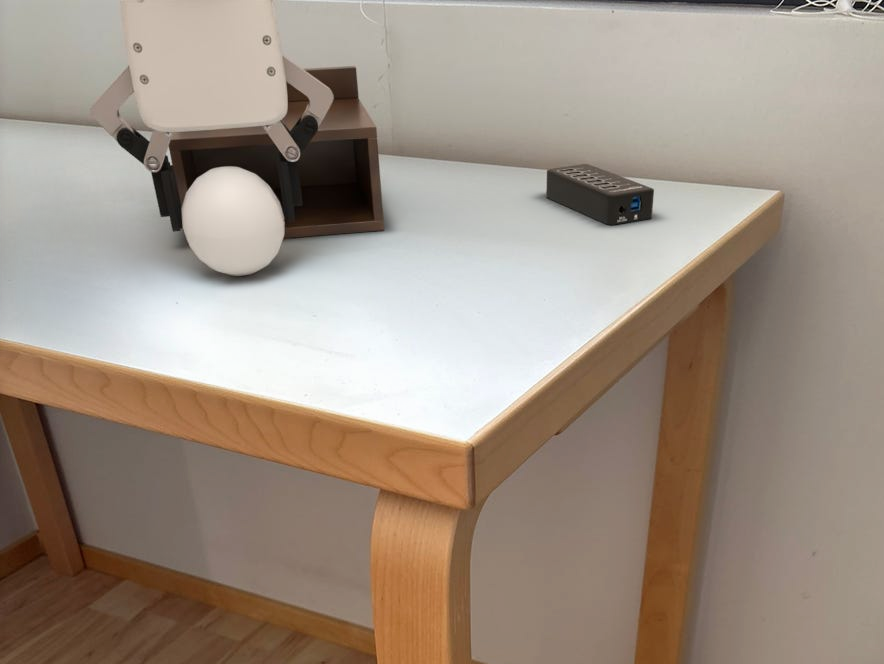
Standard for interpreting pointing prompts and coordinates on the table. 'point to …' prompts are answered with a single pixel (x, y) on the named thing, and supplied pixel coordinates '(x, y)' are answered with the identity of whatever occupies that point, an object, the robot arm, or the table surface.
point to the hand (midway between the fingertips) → (234, 219)
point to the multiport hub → (600, 194)
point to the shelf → (302, 160)
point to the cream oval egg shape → (233, 220)
